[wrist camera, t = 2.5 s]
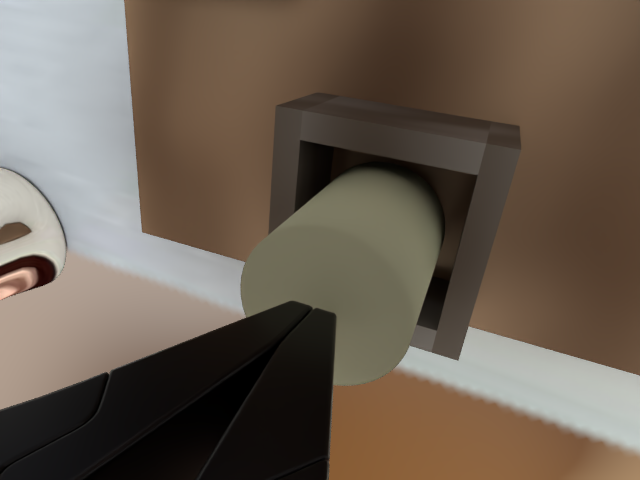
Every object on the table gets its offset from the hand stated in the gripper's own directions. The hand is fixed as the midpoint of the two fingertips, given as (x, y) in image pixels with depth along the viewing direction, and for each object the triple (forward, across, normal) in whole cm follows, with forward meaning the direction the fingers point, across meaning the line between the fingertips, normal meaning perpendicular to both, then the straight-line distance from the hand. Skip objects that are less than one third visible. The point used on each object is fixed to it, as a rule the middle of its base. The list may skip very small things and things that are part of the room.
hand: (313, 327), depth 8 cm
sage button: (+5, 0, 0) cm, 5 cm away
